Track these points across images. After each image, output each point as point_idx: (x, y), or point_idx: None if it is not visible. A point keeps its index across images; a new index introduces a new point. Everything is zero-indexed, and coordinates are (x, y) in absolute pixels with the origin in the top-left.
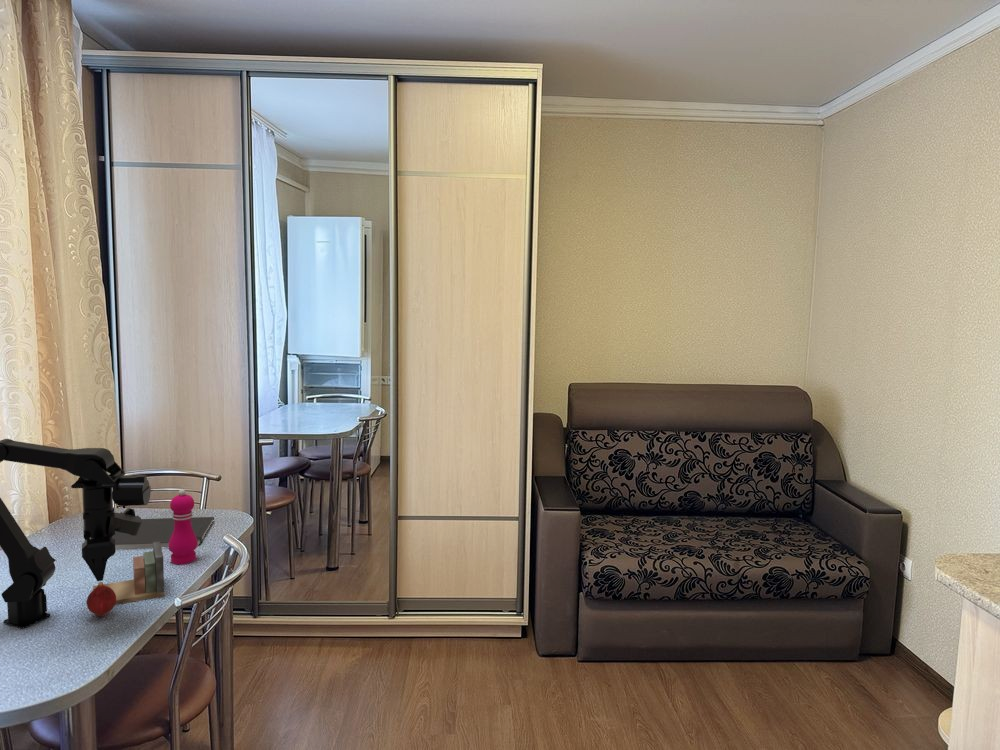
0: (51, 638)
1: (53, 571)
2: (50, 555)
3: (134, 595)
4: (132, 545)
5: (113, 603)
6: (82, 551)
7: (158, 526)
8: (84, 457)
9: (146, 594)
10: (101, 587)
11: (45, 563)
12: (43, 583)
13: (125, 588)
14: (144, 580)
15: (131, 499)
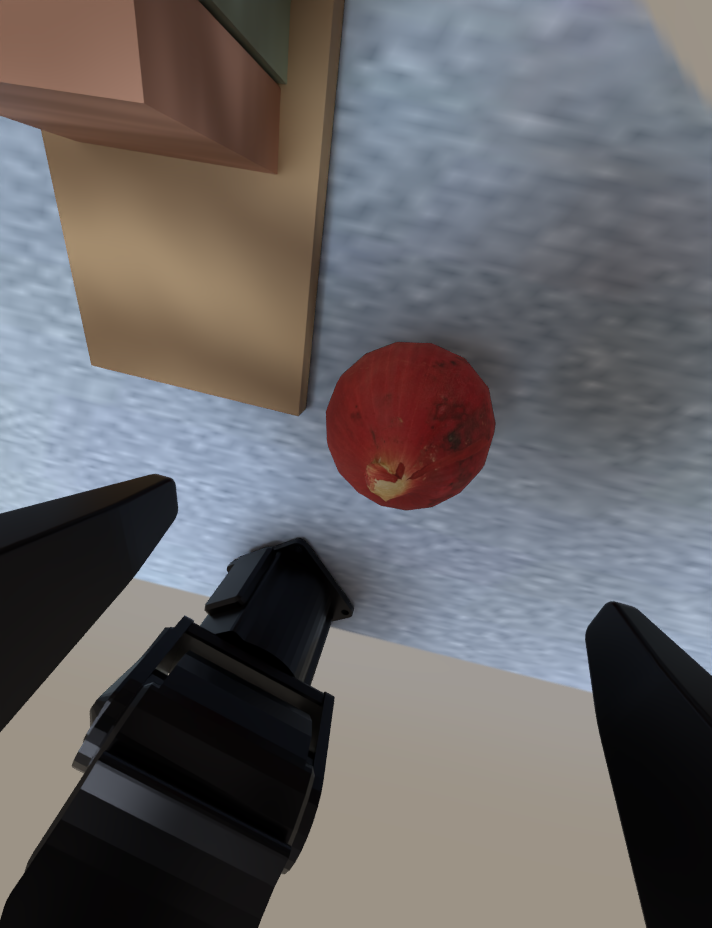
0: (491, 579)
1: (179, 695)
2: (65, 815)
3: (291, 182)
4: None
5: (474, 370)
6: None
7: None
8: None
9: (313, 84)
10: (423, 477)
11: (186, 844)
12: (295, 731)
13: (164, 218)
14: (227, 39)
15: None
